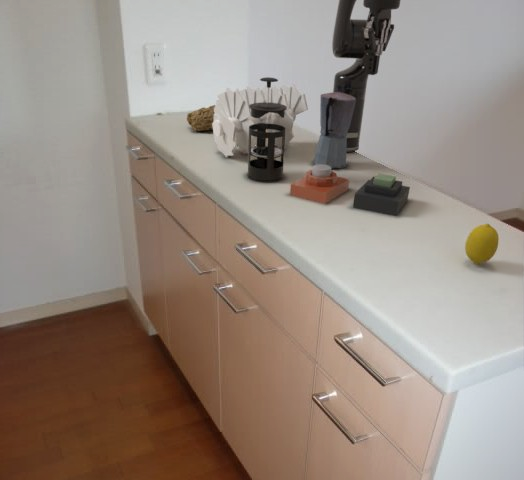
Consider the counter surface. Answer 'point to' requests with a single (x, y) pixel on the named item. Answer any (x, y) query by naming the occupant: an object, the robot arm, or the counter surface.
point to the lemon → (481, 243)
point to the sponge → (201, 119)
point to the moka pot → (334, 128)
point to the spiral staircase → (239, 117)
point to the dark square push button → (381, 198)
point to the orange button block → (319, 187)
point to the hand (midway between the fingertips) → (371, 74)
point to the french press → (268, 167)
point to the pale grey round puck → (321, 171)
